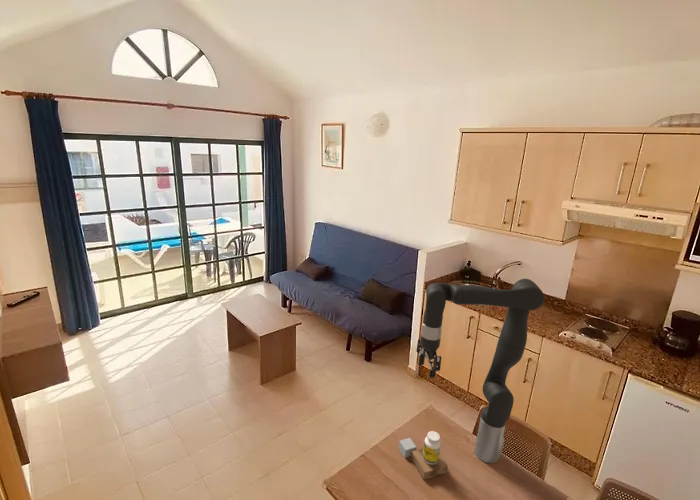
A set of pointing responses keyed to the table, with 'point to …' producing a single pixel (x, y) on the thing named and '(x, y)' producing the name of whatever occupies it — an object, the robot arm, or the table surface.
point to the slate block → (406, 447)
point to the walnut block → (428, 465)
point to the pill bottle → (432, 448)
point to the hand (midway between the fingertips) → (426, 370)
